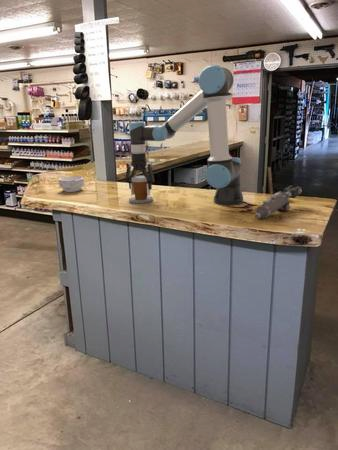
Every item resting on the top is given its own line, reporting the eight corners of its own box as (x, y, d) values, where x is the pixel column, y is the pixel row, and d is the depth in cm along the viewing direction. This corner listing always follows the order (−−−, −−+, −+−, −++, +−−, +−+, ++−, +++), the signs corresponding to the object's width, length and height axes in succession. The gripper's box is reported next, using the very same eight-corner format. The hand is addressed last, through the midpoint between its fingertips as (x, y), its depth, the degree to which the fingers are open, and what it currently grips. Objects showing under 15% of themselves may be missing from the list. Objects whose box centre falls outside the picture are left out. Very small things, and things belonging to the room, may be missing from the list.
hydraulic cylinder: (302, 200, 181) (302, 181, 177) (263, 230, 158) (262, 209, 154) (288, 198, 186) (288, 179, 181) (249, 227, 163) (247, 206, 159)
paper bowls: (87, 188, 238) (86, 175, 236) (80, 193, 224) (78, 180, 221) (65, 188, 240) (63, 176, 237) (56, 193, 225) (54, 180, 223)
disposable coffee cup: (147, 201, 194) (146, 178, 190) (130, 200, 196) (128, 178, 192) (151, 197, 203) (150, 175, 199) (135, 196, 205) (134, 175, 201)
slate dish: (156, 198, 203) (156, 196, 203) (147, 204, 192) (147, 202, 191) (134, 197, 208) (134, 195, 207) (124, 203, 196) (124, 201, 195)
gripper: (160, 151, 192) (161, 194, 199) (122, 151, 199) (125, 192, 205) (154, 153, 185) (156, 197, 192) (116, 153, 192) (119, 195, 199)
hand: (140, 195), depth 199 cm, fingers open, 9 cm apart
